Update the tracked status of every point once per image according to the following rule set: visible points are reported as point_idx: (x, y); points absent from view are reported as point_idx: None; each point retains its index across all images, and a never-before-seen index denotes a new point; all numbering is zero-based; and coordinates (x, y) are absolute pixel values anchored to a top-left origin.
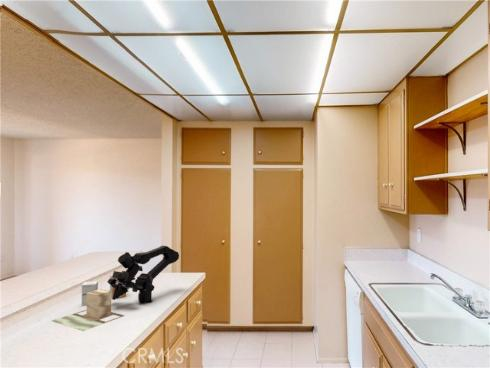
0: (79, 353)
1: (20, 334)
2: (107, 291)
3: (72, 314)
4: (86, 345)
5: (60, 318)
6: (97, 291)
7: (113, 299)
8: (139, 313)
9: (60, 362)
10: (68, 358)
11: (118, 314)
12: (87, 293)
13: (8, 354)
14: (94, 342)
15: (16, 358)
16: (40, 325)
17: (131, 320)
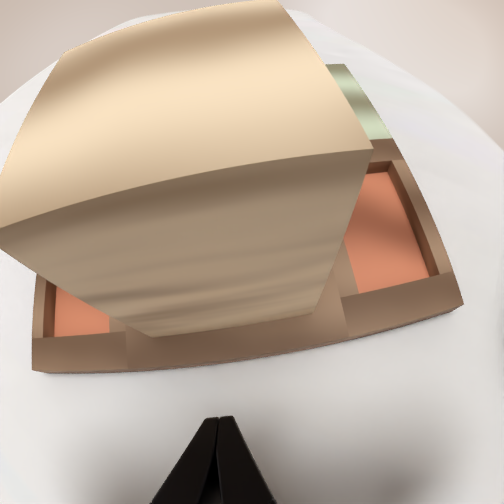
0: (12, 110)
1: (300, 24)
2: (21, 170)
3: (387, 140)
4: (19, 125)
5: (352, 88)
6: (208, 57)
7: (210, 423)
8: (62, 496)
9: (27, 82)
10: (22, 93)
11: (83, 358)
12: (253, 4)
13: (169, 14)
14: (9, 145)
15: (130, 25)
16: (356, 60)
17: (5, 368)
